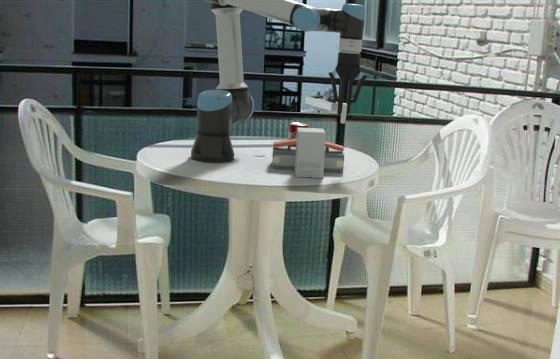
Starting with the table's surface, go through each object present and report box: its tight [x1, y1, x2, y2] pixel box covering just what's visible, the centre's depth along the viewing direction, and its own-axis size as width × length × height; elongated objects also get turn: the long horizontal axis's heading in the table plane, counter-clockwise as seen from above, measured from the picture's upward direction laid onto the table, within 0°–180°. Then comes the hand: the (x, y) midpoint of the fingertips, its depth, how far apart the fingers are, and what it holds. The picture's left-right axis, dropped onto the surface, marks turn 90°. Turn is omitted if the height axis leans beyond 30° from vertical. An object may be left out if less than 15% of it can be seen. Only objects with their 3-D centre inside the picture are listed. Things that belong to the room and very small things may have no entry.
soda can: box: [287, 122, 310, 147], centre depth 253 cm, size 7×7×12 cm
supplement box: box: [294, 127, 327, 179], centre depth 223 cm, size 9×9×15 cm
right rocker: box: [325, 141, 345, 153], centre depth 234 cm, size 11×4×1 cm, turn 91°
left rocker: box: [272, 139, 296, 148], centre depth 234 cm, size 11×4×1 cm, turn 90°
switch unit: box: [271, 145, 345, 173], centre depth 235 cm, size 24×10×7 cm, turn 90°
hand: (342, 122), depth 232 cm, fingers closed
